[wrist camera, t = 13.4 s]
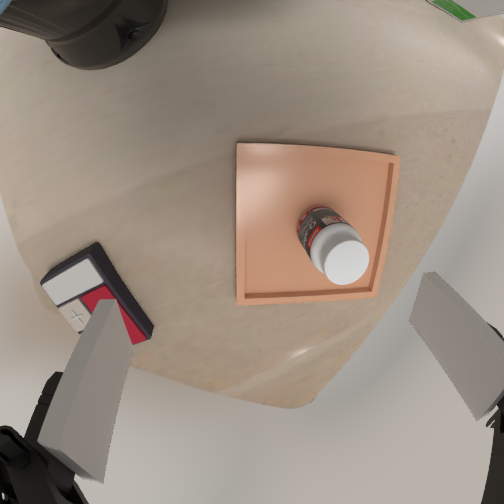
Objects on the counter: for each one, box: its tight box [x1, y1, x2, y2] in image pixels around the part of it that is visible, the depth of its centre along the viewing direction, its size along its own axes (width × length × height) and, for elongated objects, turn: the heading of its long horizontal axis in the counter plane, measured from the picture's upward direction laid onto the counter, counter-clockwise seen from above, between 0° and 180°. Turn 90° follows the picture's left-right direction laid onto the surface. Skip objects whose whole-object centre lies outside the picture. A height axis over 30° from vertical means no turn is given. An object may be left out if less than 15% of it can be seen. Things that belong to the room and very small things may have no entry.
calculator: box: [40, 242, 154, 345], centre depth 36 cm, size 11×4×15 cm
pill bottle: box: [297, 206, 369, 285], centre depth 30 cm, size 6×6×10 cm
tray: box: [236, 143, 401, 305], centre depth 35 cm, size 20×20×2 cm
